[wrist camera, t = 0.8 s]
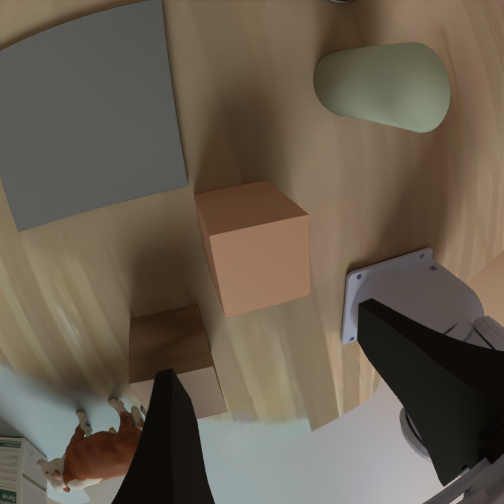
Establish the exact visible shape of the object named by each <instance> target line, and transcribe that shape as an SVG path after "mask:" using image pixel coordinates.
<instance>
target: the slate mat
mask: <svg viewBox="0 0 504 504" xmlns="http://www.w3.org/2000/svg"><path fill="white" fill-rule="evenodd" d="M0 177H1V180H2V184H3V187H4V191H5V194H6V197H7V200H8V204H9V207H10V210H11V213H12V216H13V218H14V221H15V224H16V227H17V230H18V232H21V231H24V230H27V229H30V228H33V227H36V226H39V225H42V224H45V223H49V222H52V221H55V220H59V219H62V218H65V217H69V216H72V215H75V214H79V213H82V212H86V211H90V210H93V209H97V208H100V207H104V206H108V205H112V204H115V203H119V202H123V201H127V200H131V199H135V198H139V197H143V196H147V195H152V194H156V193H160V192H164V191H169V190H173V189H178V188H182V187H187V186H188V181H187V176H186V170H185V165H184V159H183V153H182V147H181V141H180V135H179V129H178V123H177V116H176V110H175V103H174V96H173V90H172V83H171V75H170V68H169V60H168V53H167V45H166V36H165V28H164V19H163V9H162V0H148V1H143V2H138V3H134V4H129V5H125V6H120V7H116V8H112V9H108V10H105V11H101V12H98V13H94V14H91V15H87V16H84V17H81V18H78V19H75V20H72V21H69V22H66V23H63V24H61V25H58V26H55V27H52V28H50V29H47V30H45V31H42V32H40V33H37V34H35V35H33V36H30V37H28V38H26V39H24V40H21V41H19V42H17V43H15V44H13V45H11V46H9V47H7V48H5V49H3V50H1V51H0Z"/></svg>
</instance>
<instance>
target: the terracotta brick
mask: <svg viewBox="0 0 504 504" xmlns="http://www.w3.org/2000/svg"><path fill="white" fill-rule="evenodd" d="M194 198H195V204H196V209H197V214H198V220H199V225H200V230H201V235H202V240H203V245H204V250H205V255H206V260H207V263H208V266H209V269H210V273H211V276H212V279H213V282H214V285H215V288H216V291H217V294H218V297H219V300H220V303H221V306H222V309H223V312H224V315H225V318H227V317H231V316H235V315H239V314H243V313H246V312H250V311H254V310H258V309H262V308H265V307H269V306H273V305H276V304H280V303H284V302H287V301H291V300H294V299H298V298H301V297H305V296H308V295H310V236H309V214H308V213H306V212H305V211H304V210H303V209H302V208H300V207H299V206H298V205H297V204H296V203H294V202H293V201H292V200H291V199H290V198H288V197H287V196H286V195H285V194H284V193H282V192H281V191H280V190H279V189H277V188H276V187H275V186H274V185H272V184H271V183H270V182H269V181H267V180H264V181H259V182H253V183H248V184H243V185H237V186H232V187H227V188H222V189H217V190H212V191H207V192H203V193H198V194H194Z"/></svg>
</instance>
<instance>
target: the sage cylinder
mask: <svg viewBox="0 0 504 504" xmlns="http://www.w3.org/2000/svg"><path fill="white" fill-rule="evenodd" d="M313 83H314V89H315V92H316V95H317V97H318V99H319V101H320V102H321V103H322V105H323V106H324V107H325V108H326V109H328V110H329V111H330V112H332V113H334V114H337V115H341V116H347V117H352V118H358V119H363V120H368V121H372V122H377V123H382V124H386V125H390V126H395V127H399V128H403V129H407V130H411V131H415V132H419V133H424V132H429V131H431V130H433V129H435V128H436V127H437V126H438V125H439V124H440V123H441V122H442V121H443V119H444V117H445V115H446V113H447V111H448V107H449V103H450V82H449V78H448V74H447V71H446V69H445V66H444V64H443V63H442V61H441V59H440V58H439V56H438V55H437V54H436V53H435V52H434V51H433V50H432V49H430V48H429V47H427V46H426V45H424V44H421V43H415V42H413V43H398V44H386V45H377V46H368V47H360V48H353V49H346V50H340V51H334V52H331V53H329V54H327V55H325V56H324V57H323V58H322V59H321V60H320V61H319V62H318V64H317V66H316V69H315V72H314V78H313Z"/></svg>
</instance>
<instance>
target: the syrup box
mask: <svg viewBox="0 0 504 504" xmlns="http://www.w3.org/2000/svg"><path fill="white" fill-rule="evenodd" d="M39 459H43V460H45V461H46V462H48V459H47V458H46V457H45V456H44V455H43V454H42V453H41V452H40V451H39V450H38V449H37V448H36V447H34V446H33V445H32V444H31V443H30V442H29V441H28V440H27V439H26V438H24V437H21V438H9V437H0V504H47V480H46V479H45V477H44V475H43V473H42V471H41V470H40V468H39V467H38V465H37V463H38V460H39Z"/></svg>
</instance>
